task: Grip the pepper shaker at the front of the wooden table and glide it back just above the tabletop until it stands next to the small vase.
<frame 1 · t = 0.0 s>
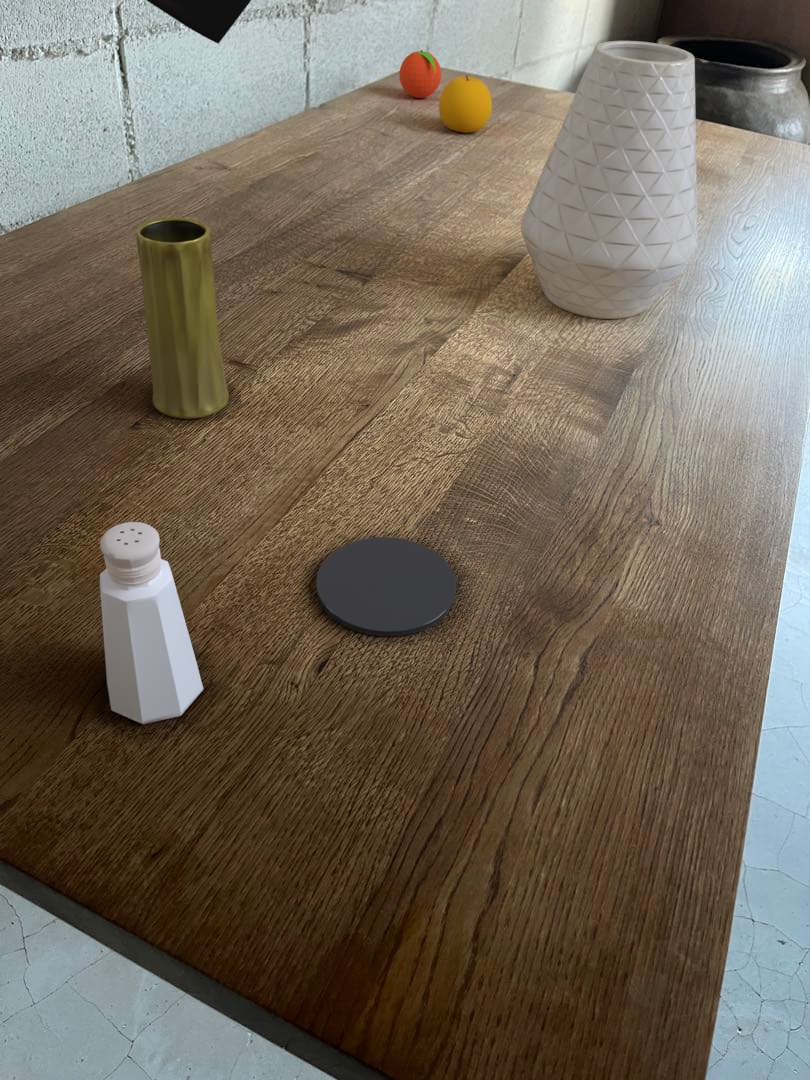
slate coaster: (386, 587, 59), on the table
vase: (191, 402, 76), on the table
vase 2: (595, 297, 96), on the table
clementine: (420, 99, 153), on the table
apple: (463, 131, 140), on the table
pepper shaker: (156, 690, 52), on the table
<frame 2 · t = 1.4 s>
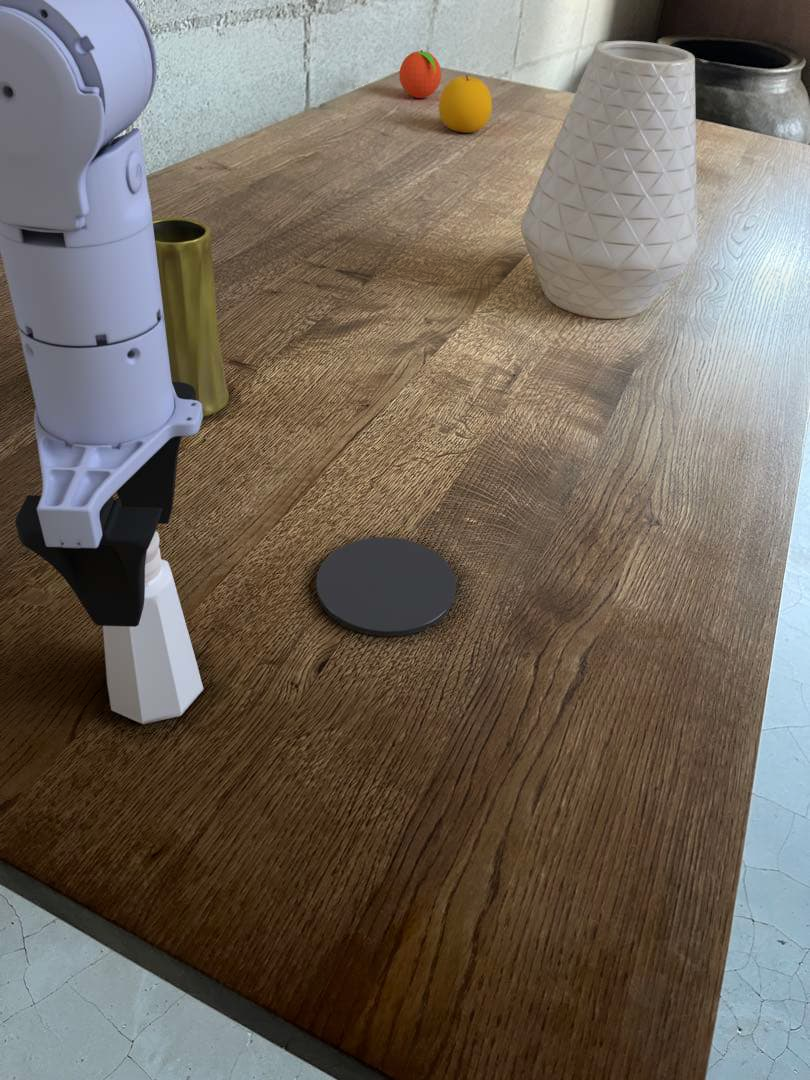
hand: (135, 567, 46), 9 cm above the table, tool pointing down, fingers open, 7 cm apart
nothing on the table moved.
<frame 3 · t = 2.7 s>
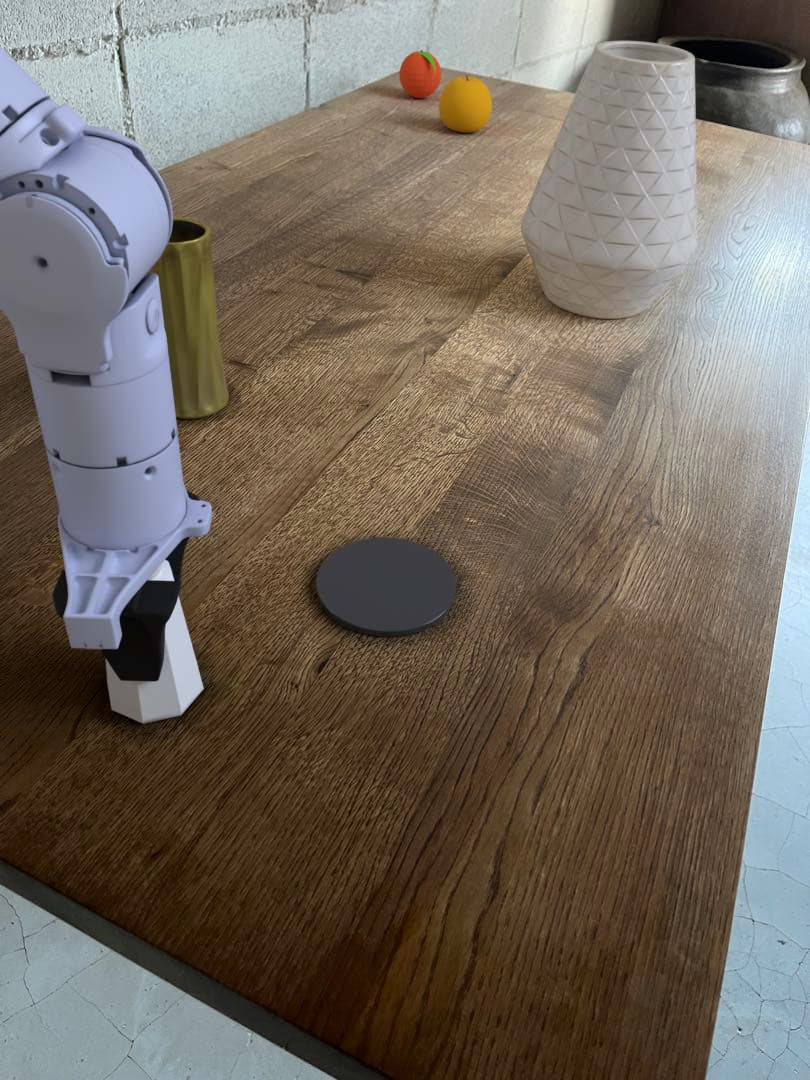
hand: (148, 645, 49), 3 cm above the table, tool pointing down, fingers closed on pepper shaker, 4 cm apart
pepper shaker: (156, 689, 52), on the table, touching gripper
everything else where it was.
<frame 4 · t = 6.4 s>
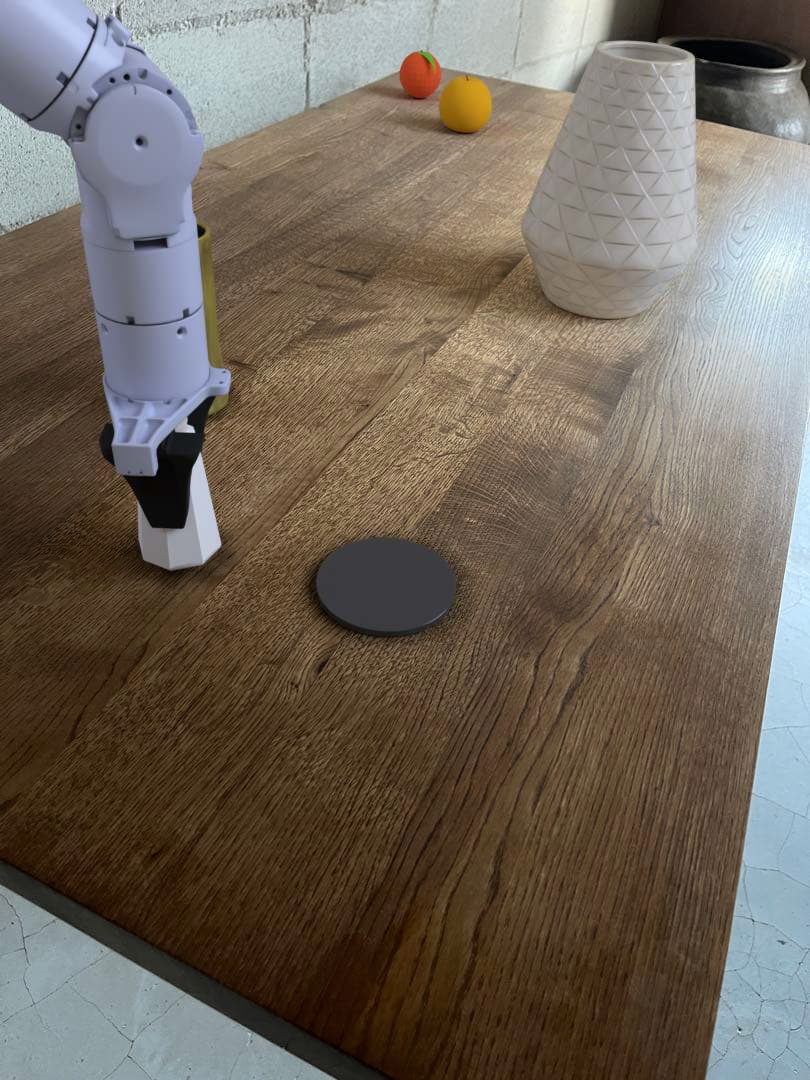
hand: (174, 503, 58), 4 cm above the table, tool pointing down, fingers closed on pepper shaker, 4 cm apart
pepper shaker: (180, 546, 60), point 1 cm above the table, touching gripper
everything else where it was.
when the fingers open (3 cm above the table, at t = 10.0 s): pepper shaker stays where it is, on the table.
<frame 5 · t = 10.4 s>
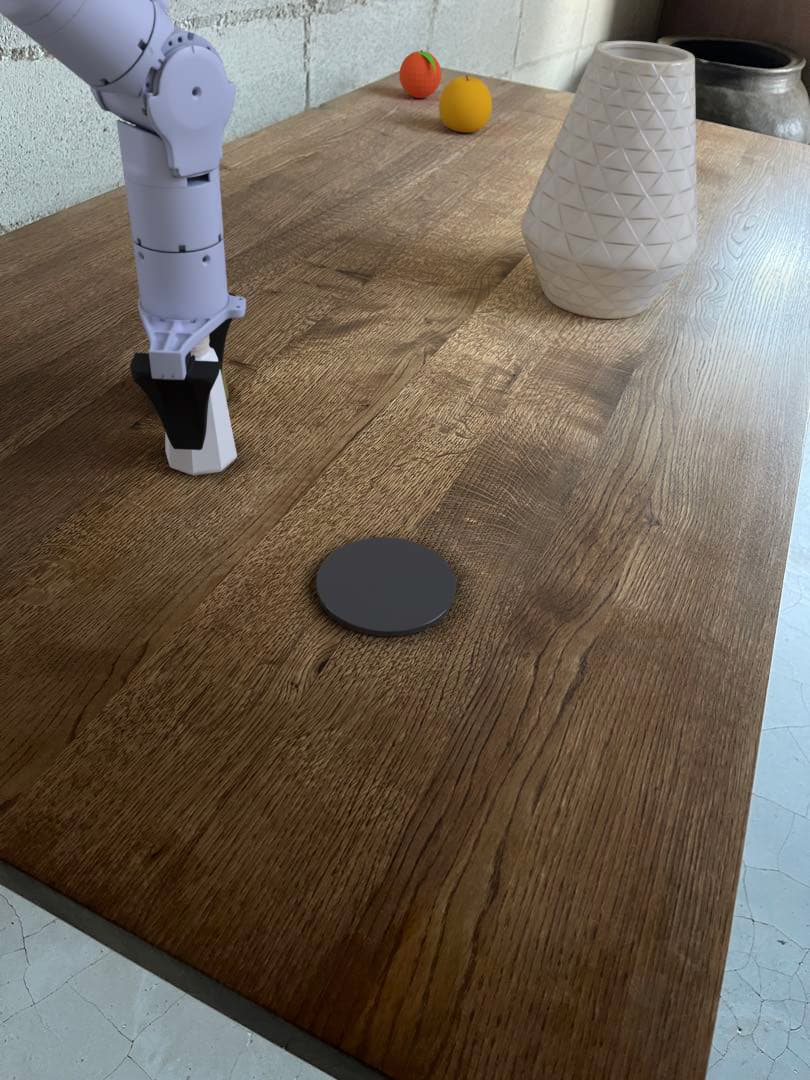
hand: (196, 418, 67), 3 cm above the table, tool pointing down, fingers open, 7 cm apart
vase: (191, 400, 75), on the table, touching gripper
pepper shaker: (201, 458, 70), on the table
everything else where it was.
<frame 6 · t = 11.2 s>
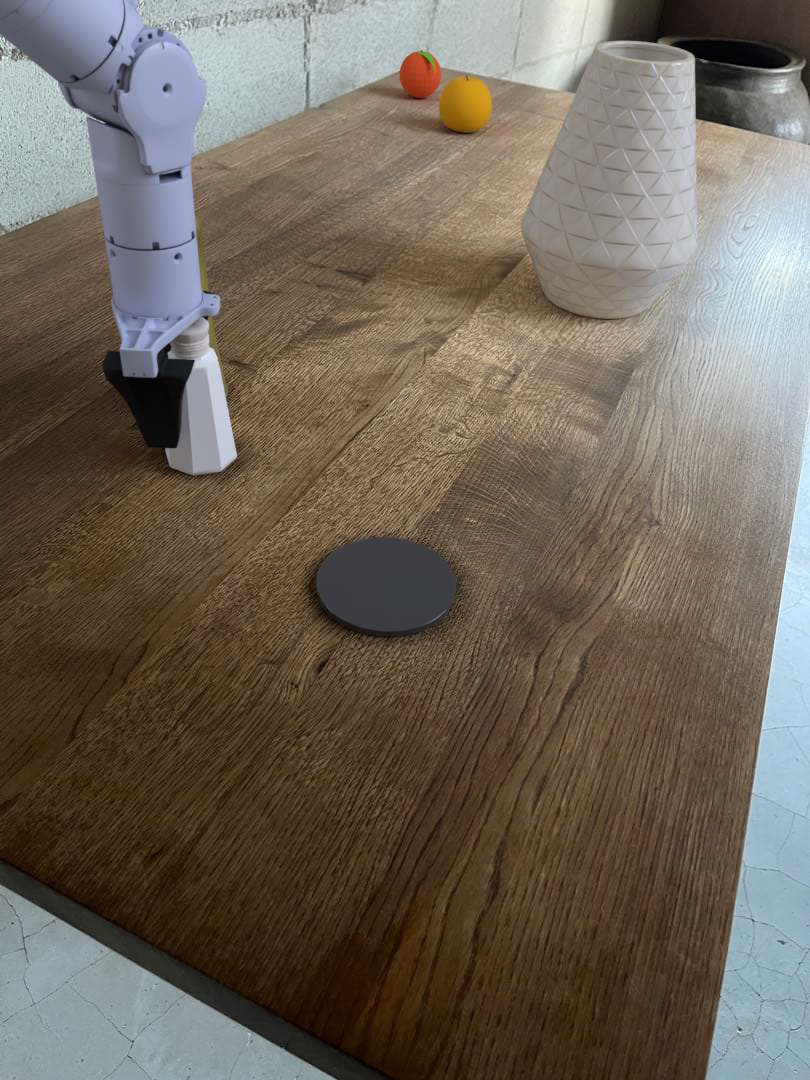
hand: (172, 416, 67), 3 cm above the table, tool pointing down, fingers open, 7 cm apart
nothing on the table moved.
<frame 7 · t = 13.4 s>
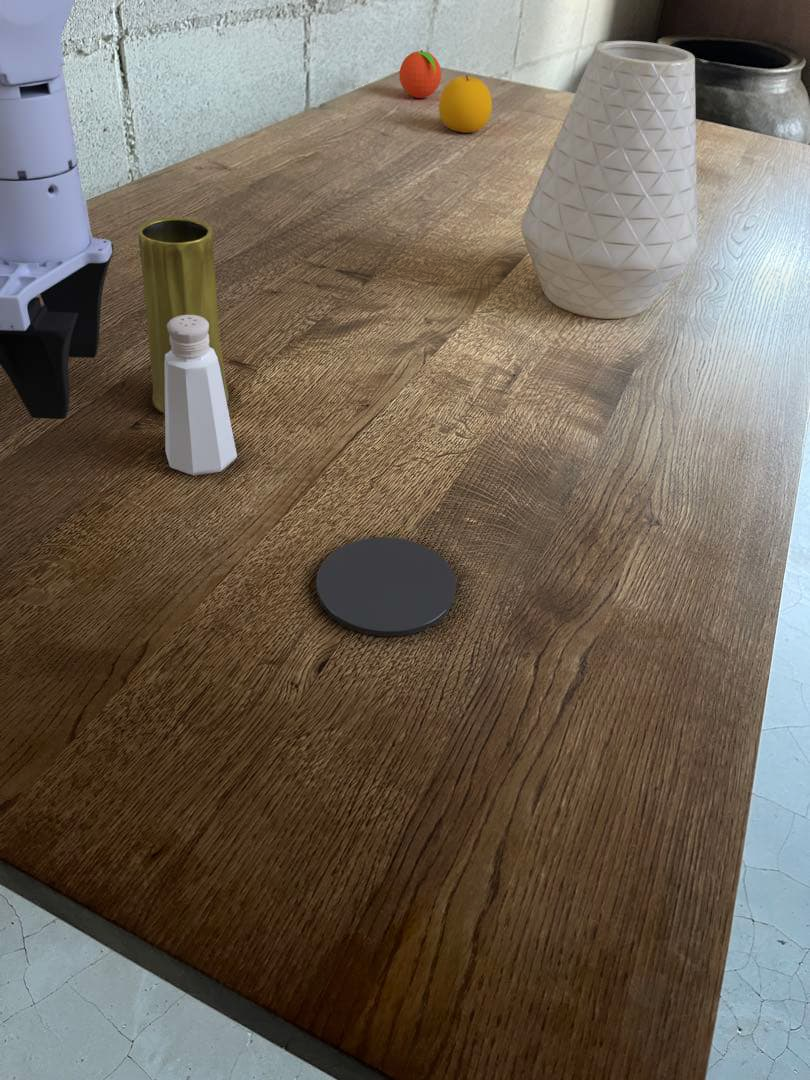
hand: (66, 383, 59), 9 cm above the table, tool pointing down, fingers open, 7 cm apart
vase: (191, 402, 76), on the table
everything else where it was.
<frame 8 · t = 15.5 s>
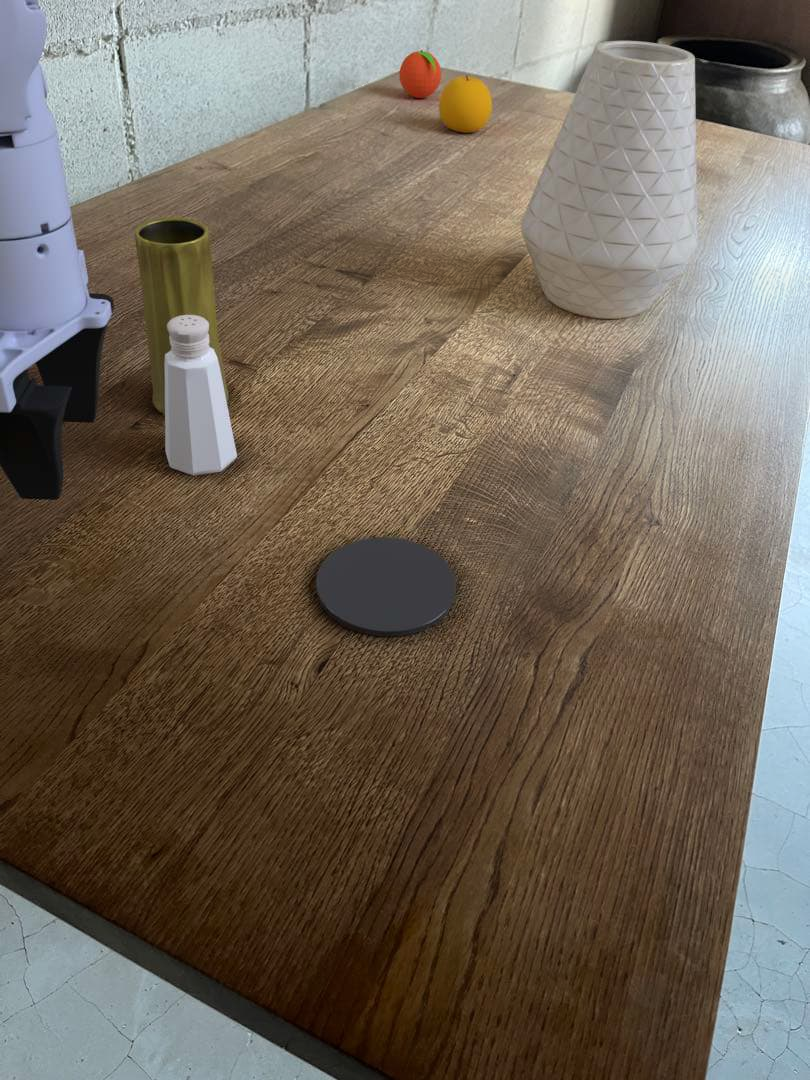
hand: (60, 455, 52), 9 cm above the table, tool pointing down, fingers open, 7 cm apart
nothing on the table moved.
at the end: pepper shaker 8.2 cm from the vase (horizontally); pepper shaker tilted 0°; vase moved 0.2 cm from its start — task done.
